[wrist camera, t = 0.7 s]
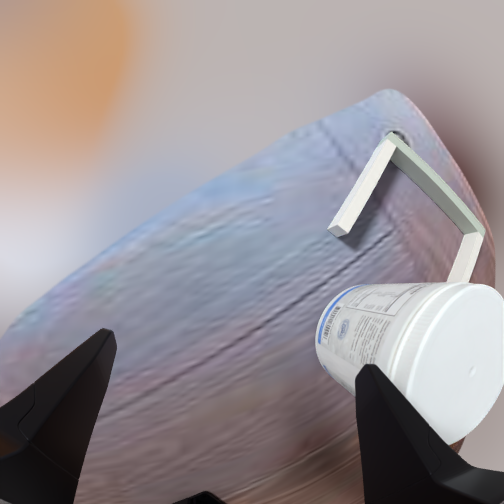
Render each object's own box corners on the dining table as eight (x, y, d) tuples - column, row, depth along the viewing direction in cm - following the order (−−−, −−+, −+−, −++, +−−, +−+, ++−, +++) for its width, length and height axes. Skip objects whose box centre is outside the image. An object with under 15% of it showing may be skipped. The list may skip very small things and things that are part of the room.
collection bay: (436, 320, 26) (450, 323, 23) (327, 229, 25) (337, 224, 23) (471, 232, 27) (485, 229, 25) (380, 141, 27) (391, 131, 25)
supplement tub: (406, 355, 25) (514, 392, 11) (327, 396, 24) (410, 482, 9) (385, 268, 26) (506, 255, 11) (298, 304, 25) (389, 333, 10)
